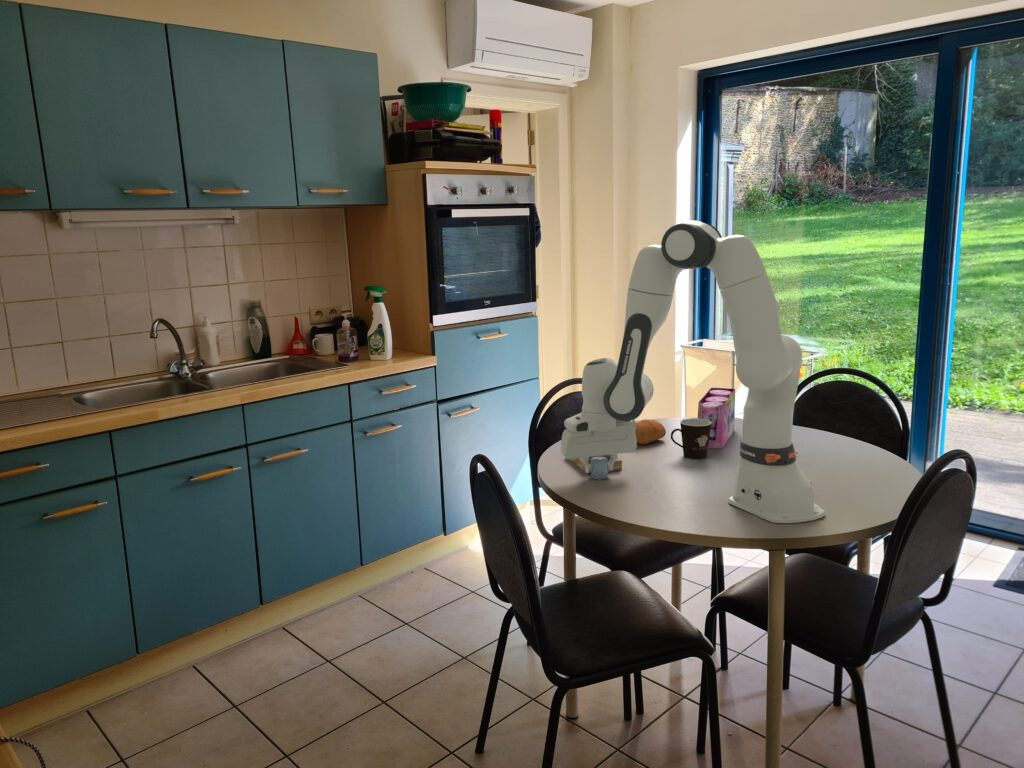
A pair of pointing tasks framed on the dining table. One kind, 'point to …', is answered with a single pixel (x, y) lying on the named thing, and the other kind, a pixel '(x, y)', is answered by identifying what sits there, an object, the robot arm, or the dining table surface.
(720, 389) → the gum box
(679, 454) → the dining table surface
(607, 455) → the walnut block
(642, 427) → the potato
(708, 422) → the coffee mug
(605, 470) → the grey capsule
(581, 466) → the wooden tray
